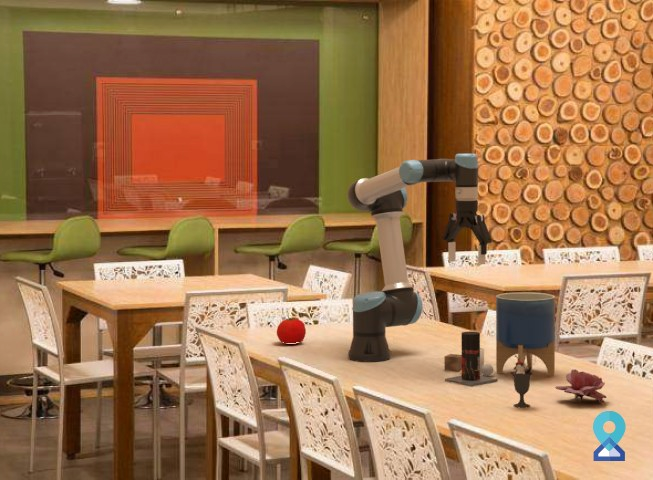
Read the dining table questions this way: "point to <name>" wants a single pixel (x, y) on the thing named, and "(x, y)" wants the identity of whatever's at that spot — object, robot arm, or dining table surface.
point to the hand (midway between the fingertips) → (466, 262)
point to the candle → (481, 359)
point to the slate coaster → (471, 383)
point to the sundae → (521, 381)
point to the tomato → (291, 331)
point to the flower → (583, 385)
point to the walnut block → (453, 362)
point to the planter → (525, 328)
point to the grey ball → (487, 370)
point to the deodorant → (470, 356)
